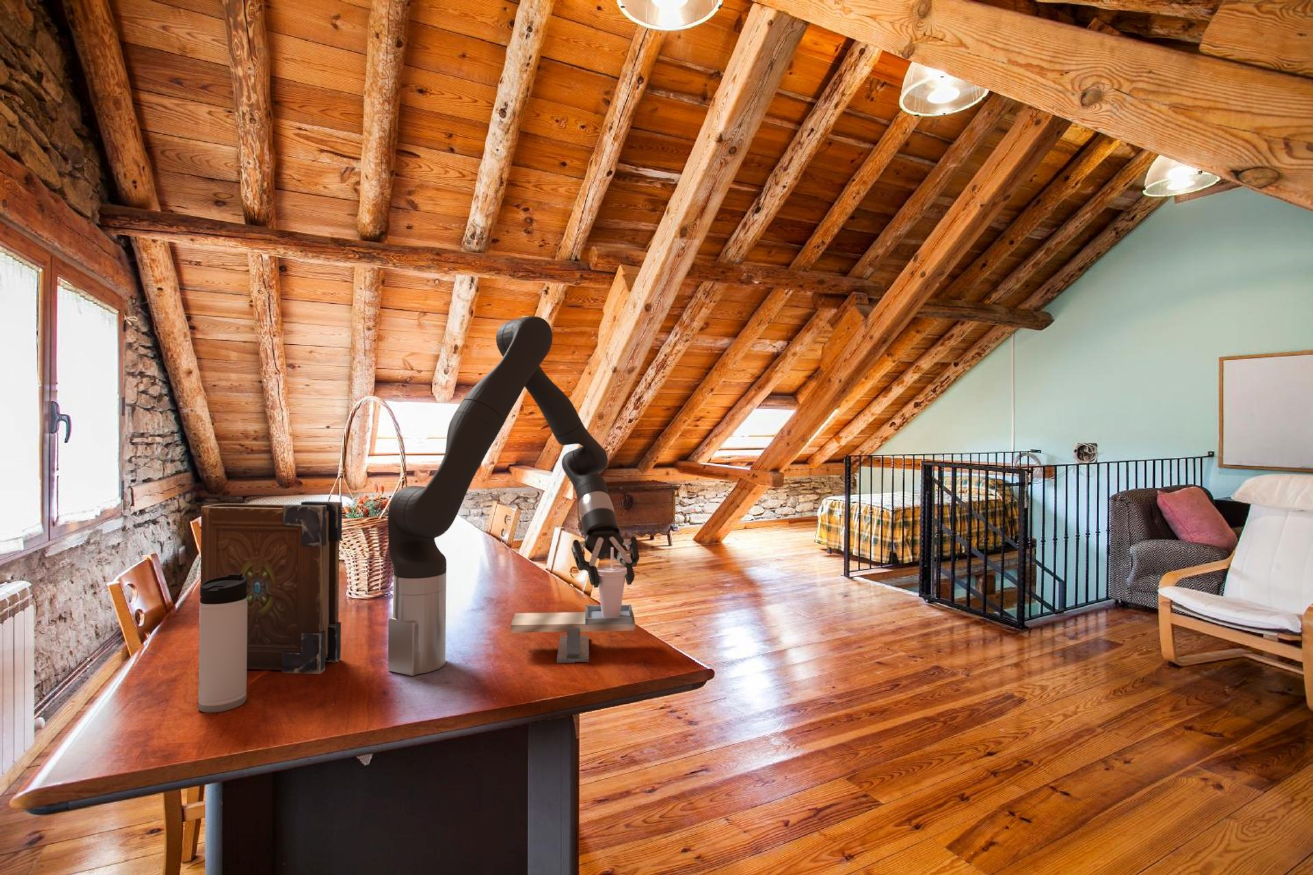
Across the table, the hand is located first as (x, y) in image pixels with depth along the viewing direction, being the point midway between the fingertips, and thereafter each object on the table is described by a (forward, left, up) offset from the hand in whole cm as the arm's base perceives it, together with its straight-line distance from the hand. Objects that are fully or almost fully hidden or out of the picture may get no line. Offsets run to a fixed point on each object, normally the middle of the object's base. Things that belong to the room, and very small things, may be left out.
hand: (613, 583), depth 126 cm
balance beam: (-3, +8, -9) cm, 12 cm away
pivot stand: (-3, +8, -14) cm, 16 cm away
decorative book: (-35, +54, -14) cm, 65 cm away
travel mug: (-49, +44, -14) cm, 67 cm away
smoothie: (+1, +1, -7) cm, 7 cm away
